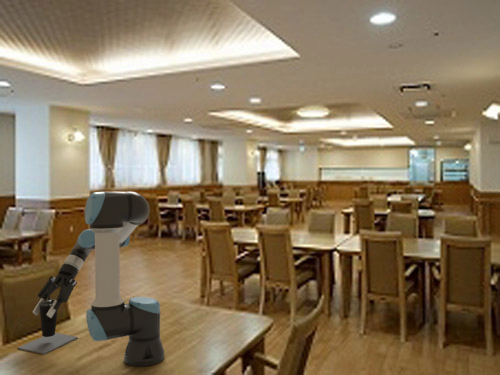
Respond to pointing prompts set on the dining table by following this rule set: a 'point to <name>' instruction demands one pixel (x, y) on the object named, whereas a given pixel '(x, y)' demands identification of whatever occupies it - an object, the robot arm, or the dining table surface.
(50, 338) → the placemat
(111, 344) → the dining table surface
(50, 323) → the drinking cup
